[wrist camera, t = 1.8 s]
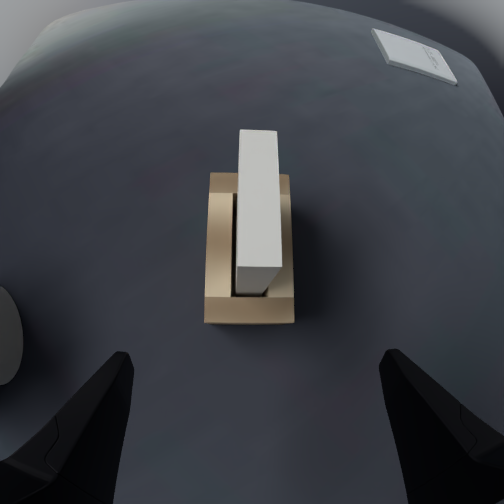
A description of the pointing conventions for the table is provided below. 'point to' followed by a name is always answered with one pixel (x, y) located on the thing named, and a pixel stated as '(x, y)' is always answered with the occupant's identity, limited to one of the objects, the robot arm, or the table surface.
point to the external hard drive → (413, 56)
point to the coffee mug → (9, 338)
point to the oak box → (224, 262)
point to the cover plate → (257, 213)
